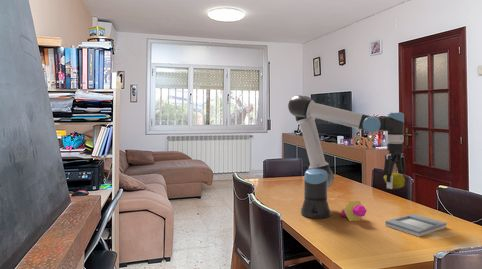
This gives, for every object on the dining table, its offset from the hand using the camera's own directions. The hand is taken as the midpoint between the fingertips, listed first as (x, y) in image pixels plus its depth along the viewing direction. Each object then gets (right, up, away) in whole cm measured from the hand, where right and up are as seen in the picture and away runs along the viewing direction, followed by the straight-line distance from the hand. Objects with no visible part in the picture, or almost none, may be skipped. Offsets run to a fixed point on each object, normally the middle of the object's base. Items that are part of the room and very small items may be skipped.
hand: (394, 187), depth 163 cm
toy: (-22, -16, -2) cm, 27 cm away
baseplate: (+3, -16, -13) cm, 21 cm away
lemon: (0, -1, 0) cm, 1 cm away
